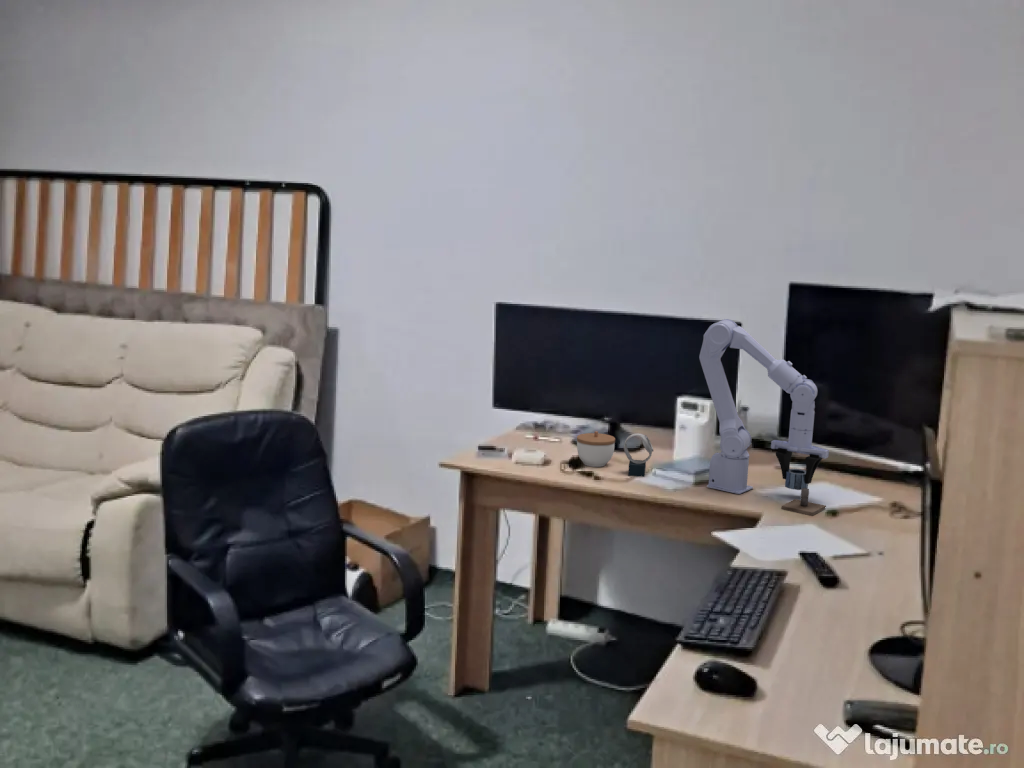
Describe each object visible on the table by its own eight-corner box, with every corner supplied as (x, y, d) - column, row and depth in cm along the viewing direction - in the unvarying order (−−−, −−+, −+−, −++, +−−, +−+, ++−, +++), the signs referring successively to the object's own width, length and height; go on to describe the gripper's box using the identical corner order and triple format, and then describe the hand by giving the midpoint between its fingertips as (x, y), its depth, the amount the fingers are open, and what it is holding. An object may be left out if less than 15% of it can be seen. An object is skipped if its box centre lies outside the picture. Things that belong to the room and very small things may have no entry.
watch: (651, 477, 276) (653, 437, 274) (621, 475, 277) (623, 435, 275) (652, 472, 281) (654, 433, 280) (623, 469, 283) (625, 431, 281)
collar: (781, 486, 260) (782, 471, 259) (790, 482, 264) (791, 467, 263) (802, 491, 257) (803, 475, 256) (810, 486, 261) (812, 471, 260)
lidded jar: (571, 459, 292) (572, 427, 290) (607, 458, 294) (608, 427, 293) (582, 469, 282) (583, 436, 280) (619, 468, 284) (620, 435, 282)
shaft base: (781, 508, 251) (782, 489, 250) (795, 502, 257) (796, 482, 256) (812, 515, 246) (814, 495, 245) (825, 508, 252) (827, 489, 251)
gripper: (767, 426, 259) (763, 477, 262) (822, 435, 250) (817, 489, 253) (779, 421, 264) (775, 472, 267) (833, 431, 256) (829, 484, 258)
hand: (796, 480), depth 260 cm, fingers closed on collar, 5 cm apart
